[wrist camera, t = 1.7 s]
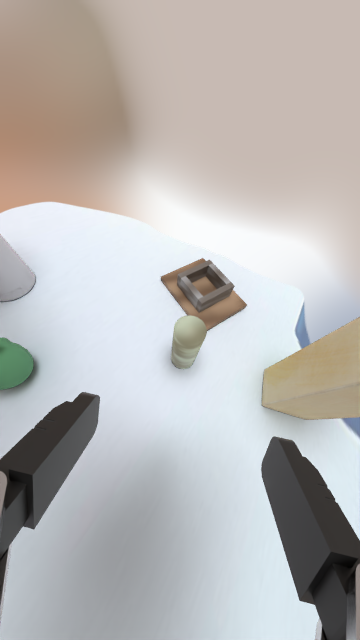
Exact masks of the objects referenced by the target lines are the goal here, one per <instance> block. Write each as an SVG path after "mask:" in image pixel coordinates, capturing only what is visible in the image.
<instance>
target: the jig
mask: <svg viewBox="0 0 360 640" xmlns="http://www.w3.org/2000/svg"><path fill="white" fill-rule="evenodd" d="M161 281H162V282H163V283H164V285H165V286H166V287H167V289H168V290H169V291H170V293H171V294H172V295H173V297H174V298H175V299H176V300H177V302H178V303H179V304H180V306H181V307H182V308H183V310H184V311H185V312H186V314H187V315H188V316H189V315H190V316H195V317H198V318H199V319H201V320H202V321H203V322H204V324H205V326H206V329H207V330H209V329H211V328H212V327H214V326H216V325H217V324H219V323H221V322H222V321H224V320H226V319H227V318H229V317H231V316H232V315H234V314H236V313H237V312H239V311H241V310H242V309H244V308H245V307H246V306H247V304H246V303H245V302H244V301H243V300H242V299H241V298H240V297H239V296H238V295H237V294H236V293H235V292H234V290H233V288H234V285H233V284H232V283H231V282H230V281H229V280H228V279H227V278H226V276H225V275H224V274H223V273H222V272H221V271H220V270H219V269H218V268H217V267H216V266H215V265H214V264H213V263H212V262H211V261H210V260H208V261H205V260H204V258H202V259H200V260H197V261H195V262H193V263H191V264H189V265H186V266H184V267H182V268H180V269H177V270H175V271H173V272H171V273H168V274H166V275H164V276H162V277H161Z"/></svg>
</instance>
